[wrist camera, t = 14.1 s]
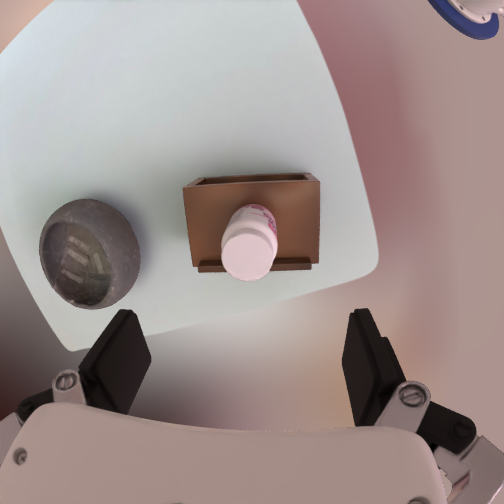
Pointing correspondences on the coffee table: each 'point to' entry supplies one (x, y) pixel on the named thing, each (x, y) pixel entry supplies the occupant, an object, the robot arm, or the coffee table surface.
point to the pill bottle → (249, 243)
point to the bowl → (89, 254)
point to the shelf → (260, 193)
